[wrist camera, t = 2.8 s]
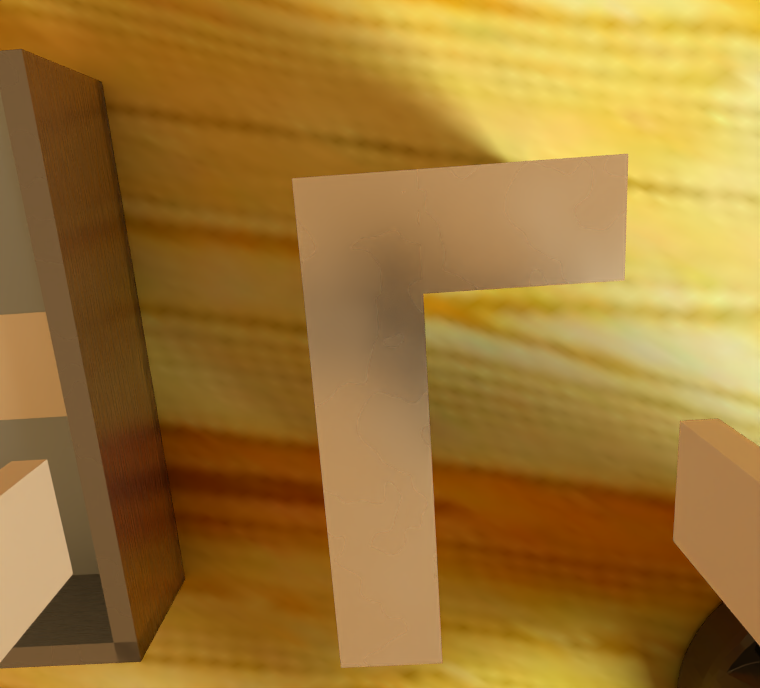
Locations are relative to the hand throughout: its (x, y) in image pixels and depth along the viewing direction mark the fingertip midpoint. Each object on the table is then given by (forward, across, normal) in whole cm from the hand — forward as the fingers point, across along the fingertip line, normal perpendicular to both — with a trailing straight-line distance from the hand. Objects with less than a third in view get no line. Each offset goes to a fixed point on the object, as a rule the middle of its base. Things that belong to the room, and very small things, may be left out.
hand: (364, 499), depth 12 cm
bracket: (+15, -3, +1) cm, 16 cm away
